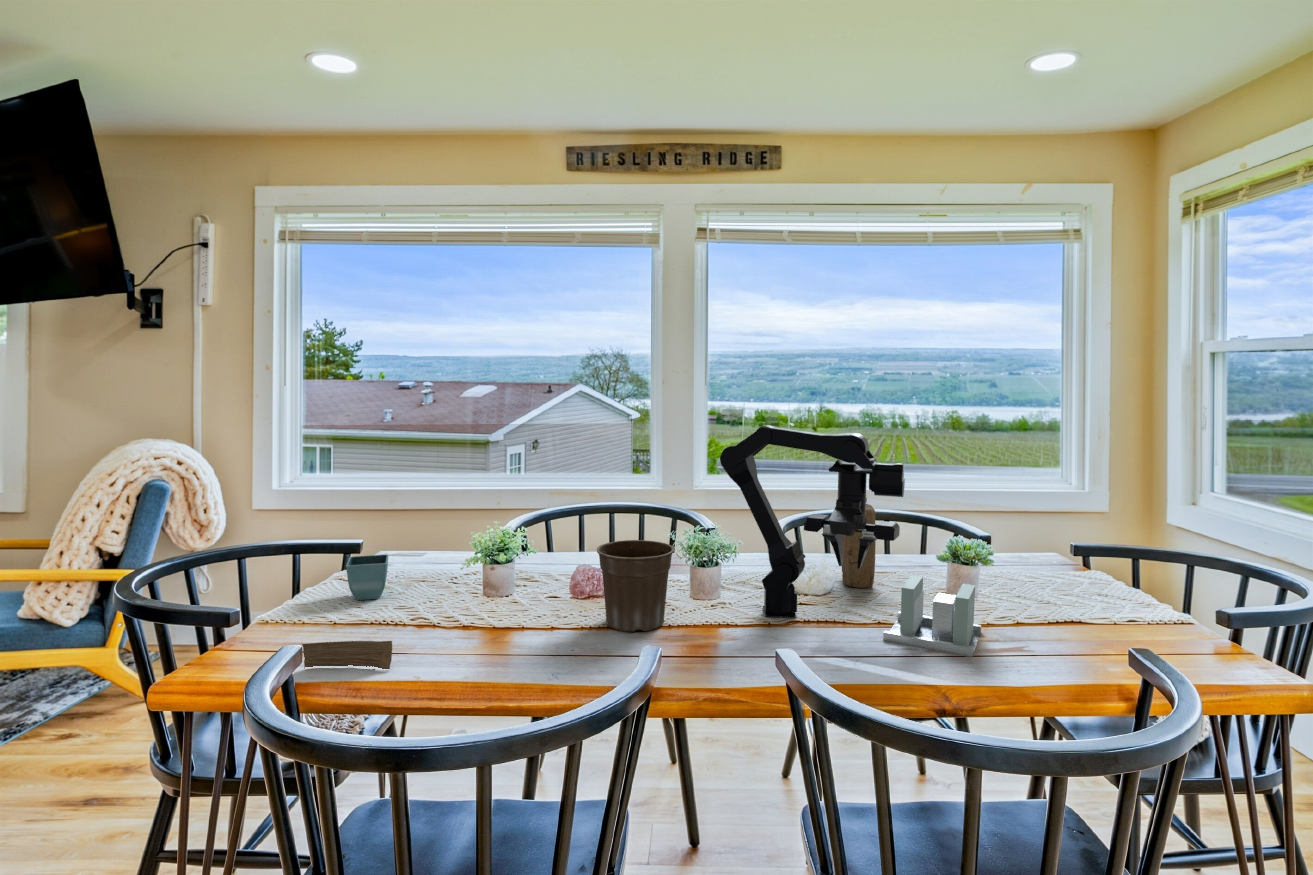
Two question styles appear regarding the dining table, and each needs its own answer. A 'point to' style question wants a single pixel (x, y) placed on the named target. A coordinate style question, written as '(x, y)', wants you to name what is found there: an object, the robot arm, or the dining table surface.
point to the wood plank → (348, 654)
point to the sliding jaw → (912, 605)
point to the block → (850, 558)
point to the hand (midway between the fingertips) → (849, 567)
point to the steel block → (943, 617)
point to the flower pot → (367, 576)
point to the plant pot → (635, 583)
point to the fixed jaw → (964, 615)
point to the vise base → (925, 638)
